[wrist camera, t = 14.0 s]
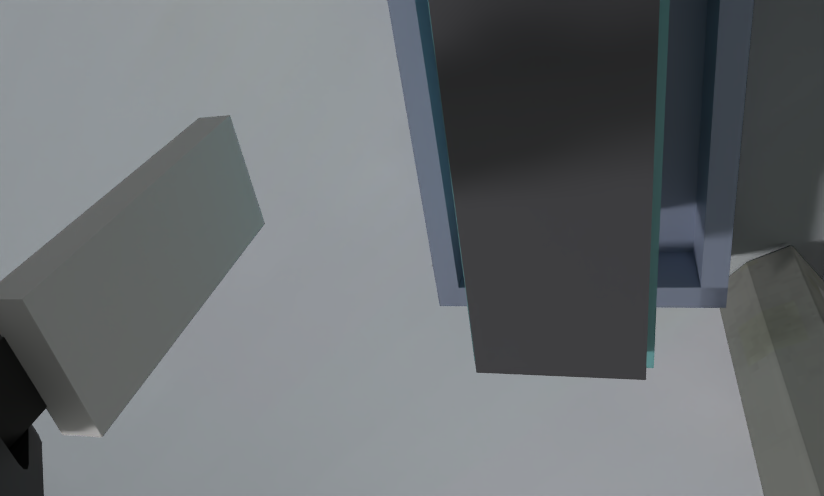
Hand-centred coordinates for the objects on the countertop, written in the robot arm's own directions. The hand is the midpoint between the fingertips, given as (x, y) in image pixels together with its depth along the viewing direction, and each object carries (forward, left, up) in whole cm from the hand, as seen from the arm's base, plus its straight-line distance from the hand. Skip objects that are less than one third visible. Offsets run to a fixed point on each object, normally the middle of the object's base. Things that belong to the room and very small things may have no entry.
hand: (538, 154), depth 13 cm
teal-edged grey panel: (0, 0, -9) cm, 9 cm away
